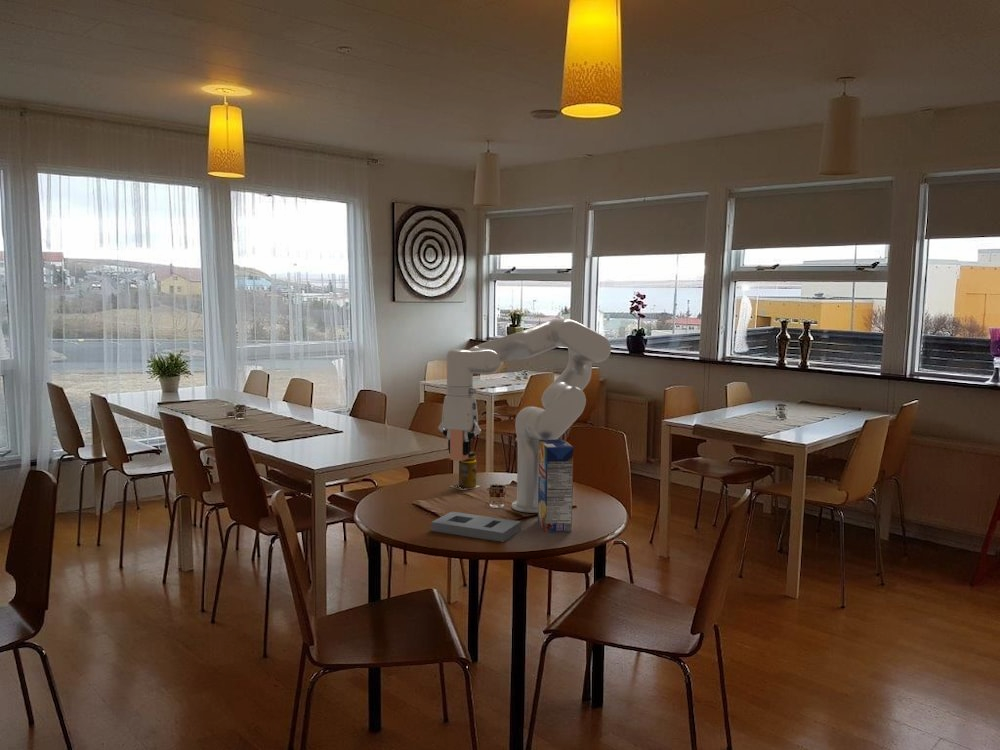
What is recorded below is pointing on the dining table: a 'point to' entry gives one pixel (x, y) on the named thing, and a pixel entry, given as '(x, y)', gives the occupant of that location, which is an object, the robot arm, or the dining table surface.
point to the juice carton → (555, 485)
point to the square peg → (457, 445)
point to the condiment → (467, 473)
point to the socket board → (476, 526)
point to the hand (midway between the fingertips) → (459, 453)
